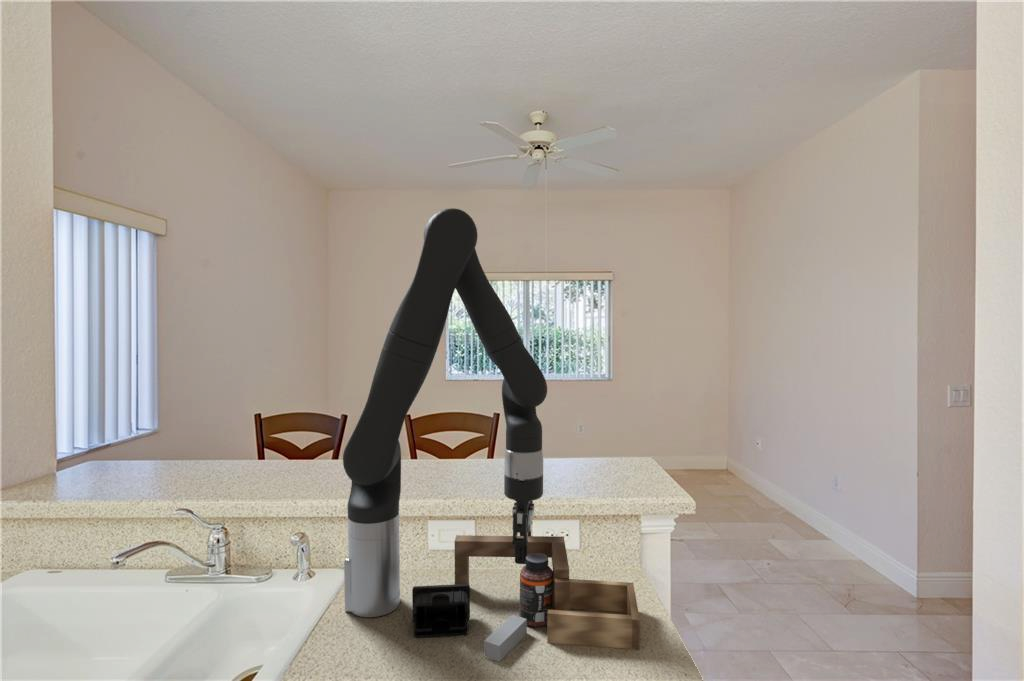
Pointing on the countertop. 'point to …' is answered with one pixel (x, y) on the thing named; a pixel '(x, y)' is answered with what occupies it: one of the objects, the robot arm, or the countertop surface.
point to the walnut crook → (505, 548)
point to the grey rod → (505, 637)
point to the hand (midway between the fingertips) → (523, 553)
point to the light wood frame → (597, 616)
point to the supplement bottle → (536, 589)
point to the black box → (441, 610)
